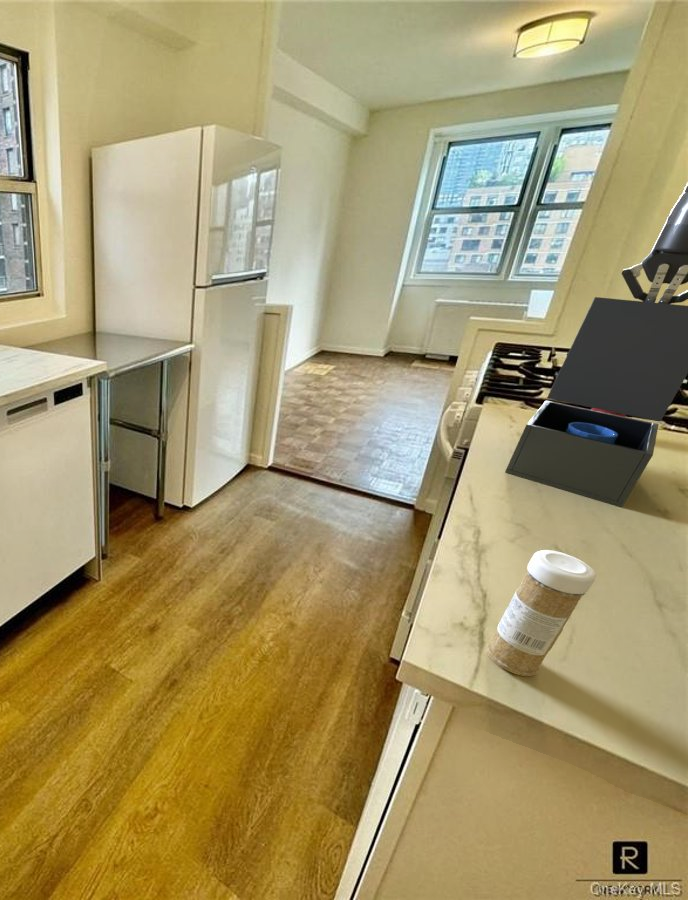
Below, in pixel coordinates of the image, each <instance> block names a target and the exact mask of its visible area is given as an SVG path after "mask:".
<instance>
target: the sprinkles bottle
mask: <svg viewBox="0 0 688 900" xmlns="http://www.w3.org/2000/svg"><path fill="white" fill-rule="evenodd" d="M526 567H527V569H526V574H525V575H524V576H523V578H522V581H521V583H520V585H519V586H518V588H516V591H515V592H514V594H513V595H512V598H511V600H510V602H509V604H508V606H507V607H506V609H505V611H504V613H503V614H502V616H501V619H500V621H499V623H498V625H497V628H496V630H495V631H494V633H493V634H492V637H491V640H490V641H489V642H487V644H486V646H485V651H486V654H487V655H488V657H489V658H490V659H491V660H492V662H493V663H495V664H496V665H497V666H499V667H500V668H501V669H503V670H506V671H507V672H510V673H512V674H515V675H518V676H520V677H521V676H522V677H532V676H536V675H537V674H538V672H539V671H540V666H541V665H542V664H543V661H544V660H545V658H546V657H547V655H548V653H549V652H550V651H551V650H552V649H553V647H554V646H555V644H556V642H557V641H558V639H559V637H560V635H561V634H562V633H563V631H564V627H565V625H566V624H567V623H568V620H569V619H570V617H571V615H572V614H573V612H574V610H575V609H576V607H577V605H578V603H579V601H580V600H581V598H582V597H583V596H585V595H586V593H588V592H589V591H590V589H591V587H592V586H593V584H594V582H595V580H596V577H597V574H596V572H595V570H594V569H593V568H592V566H590V565H588V564H587V563H586V562H584V561H583V560H581V559H579V558H577V557H575V556H573V555H571V554H567V553H564V552H561V551H557V550H550V549H542V550H537V551H536V552H535V553H534V554H533V555H532V557H531V558H530V560H529V561H528V563H527V566H526Z"/></svg>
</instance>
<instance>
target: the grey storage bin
mask: <svg viewBox="0 0 688 900" xmlns="http://www.w3.org/2000/svg"><path fill="white" fill-rule="evenodd" d="M572 422H582V423H589V424H595V425H599V426H602V427H605V428H608V429H611V430H613V431H615V432H616V433H617V434H618V436H617V438H616V440H615V442H614V444H611V443H607V442H603V441H599V440H595V439H591V438H586V437H582V436H578V435H574V434H570V433H565V430H566V428H567V426H568V424H569V423H572ZM658 430H659V423H656V422H652V421H647V420H641V419H637V418H632V417H627V416H625V417H623V416H618V415H613V414H609V413H604V412H599V411H594V410H591V408H590V409H589V408H584V407H579V406H575V405H569V404H566V403H560V402H555V401H550V400H545V401H544V402H543V404H542V405H541V406H540V407H539V409H538V410H536V412H535V414H533V416H532V417H531V418H530V420H528V422H527V423H526V425H525V427H524V429H523V431H522V433H521V435H520V437H519V439H518V442H517V444H516V447H515V449H514V451H513V453H512V456H511V457H510V460H509V462H508V464H507V467H506V469H505V471H504V473H505V474H508V475H509V474H510V475H512V476H515V477H519V478H522V479H526V480H529V481H533V482H536V483H539V484H542V485H547V486H549V487H553V488H556V489H558V490H559V489H560V490H562V491H566V492H570V493H572V494H576V495H579V496H582V497H587V498H589V499H593V500H596V501H599V502H603V503H606V504H609V505H612V506H616V507H619V508H623V506H624V504H625V503H626V501H627V499H628V497H629V496H630V494H631V493H632V491H633V489H634V488H635V486H636V484H637V482H638V481H639V480H640V478H641V476H642V474H643V473H644V471H645V469H646V467H647V466H648V464H649V463H650V461H651V460H652V457H653V456H654V452H655V446H656V441H657V437H658V436H657V435H658Z"/></svg>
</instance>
